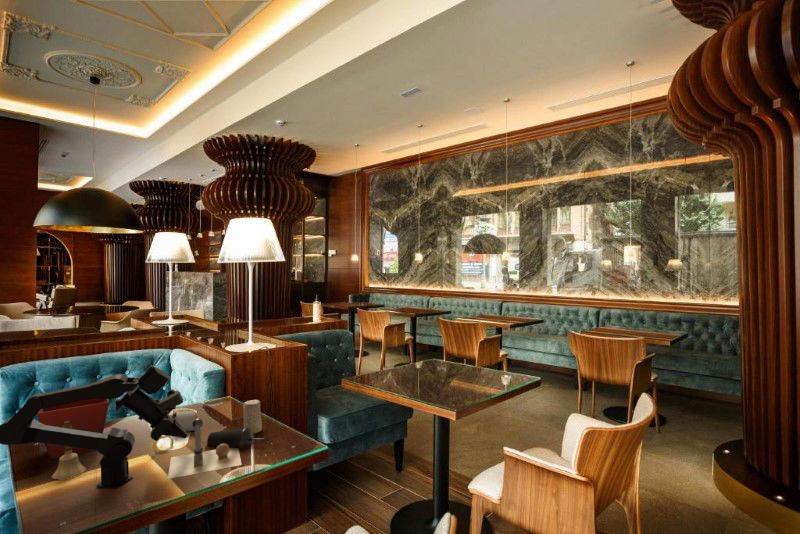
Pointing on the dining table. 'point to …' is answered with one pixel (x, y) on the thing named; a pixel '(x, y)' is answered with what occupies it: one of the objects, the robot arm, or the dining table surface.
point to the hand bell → (68, 462)
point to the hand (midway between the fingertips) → (186, 436)
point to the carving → (252, 415)
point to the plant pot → (75, 420)
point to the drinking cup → (232, 438)
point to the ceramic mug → (186, 420)
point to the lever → (197, 434)
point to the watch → (159, 439)
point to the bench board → (202, 462)
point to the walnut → (222, 451)
